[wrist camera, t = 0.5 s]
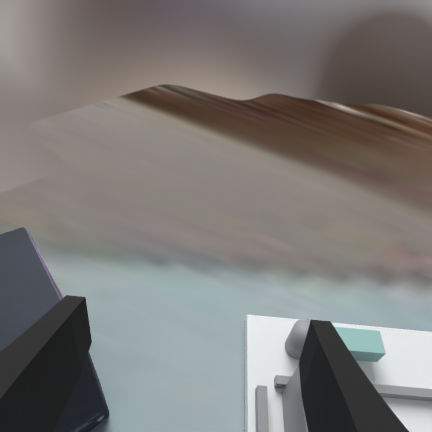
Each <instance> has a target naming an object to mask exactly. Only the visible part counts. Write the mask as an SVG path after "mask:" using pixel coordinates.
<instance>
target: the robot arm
mask: <svg viewBox="0 0 432 432" xmlns="http://www.w3.org/2000/svg"><path fill="white" fill-rule="evenodd" d="M91 342H92V341H91V334H90V327H89V320H88V313H87V306H86V299H85V297H78V296H68V295H66V296H65V297H64V298H63V299H62V300H60V301H59V302H58V303H57V304H56V305H55V306H53V307H52V308H51V309H50V310H49V311H48V312H47V313H46V314H44V315H43V316H42V317H41V318H40V319H39V320H38V321H36V322H35V323H34V324H33V325H32V326H31V327H29V328H28V329H27V330H26V331H25V332H24V333H22V334H21V335H20V336H19V337H18V338H16V339H15V340H14V341H13V342H12V343H10V344H9V345H8V346H7V347H6V348H4V349H3V350H2V351H1V352H0V432H53V431H54V429H55V427H56V425H57V423H58V420H59V418H60V416H61V414H62V412H63V410H64V408H65V406H66V404H67V402H68V400H69V398H70V395H71V393H72V391H73V389H74V387H75V385H76V383H77V381H78V379H79V376H80V374H81V372H82V369H83V366H84V363H85V361H86V358H87V355H88V352H89V348H90V345H91ZM299 372H300V385H301V395H302V401H303V406H304V412H305V417H306V422H307V427H308V432H409V431H408V430H407V428H406V427H405V426H404V425H403V423H402V422H401V421H400V420H399V419H398V417H397V416H396V415H395V414H394V412H393V411H392V410H391V408H390V407H389V406H388V405H387V403H386V402H385V401H384V399H383V398H382V397H381V395H380V394H379V393H378V391H377V390H376V389H375V387H374V386H373V384H372V383H371V382H370V380H369V379H368V377H367V376H366V375H365V373H364V372H363V370H362V369H361V367H360V366H359V364H358V363H357V362H356V360H355V359H354V357H353V356H352V354H351V352H350V351H349V349H348V348H347V346H346V345H345V343H344V342H343V340H342V339H341V337H340V335H339V334H338V332H337V331H336V329H335V327H334V326H333V324H332V323H331V322H330V321H319V320H311V321H310V325H309V328H308V332H307V335H306V339H305V343H304V346H303V350H302V353H301V357H300V361H299Z"/></svg>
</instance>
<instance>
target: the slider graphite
mask: <svg viewBox="0 0 432 432" xmlns="http://www.w3.org/2000/svg"><path fill="white" fill-rule="evenodd" d="M282 404H283V419H284V432H308V427H307V422H306V417H305V412H304V406H303V401H302V395H301V385H300V372H299V366H298V368H297V369H296V371H295V372H294V374H293V375H292V377H291V378H290V380H289V381H288V383H287V384H286V386H285V388H284V389H283V391H282Z"/></svg>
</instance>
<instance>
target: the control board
mask: <svg viewBox="0 0 432 432" xmlns="http://www.w3.org/2000/svg"><path fill="white" fill-rule="evenodd" d="M297 320H299V319H288V318H277V317H267V316H256V315H247V317H246V320H245V432H284V419H283V404H282V391H283V389H284V388H285V386H286V384H287V383H288V381H289V380H290V378H291V377H292V375H293V374H294V372H295V371H296V369H297V368H298V366H299V361H300V360H298V359H294V358H292V357H291V356H290V355H289V354H288V353H287V351H286V349H285V341H286V339H287V337H288V335H289V333H290V331H291V330H292V328H293V326H294V324H295V322H296V321H297ZM332 324H333V326H334V327H344V328H354V329H365V330H376V331H380V334H381V338H382V341H383V345H384V348H385V352H386V354H385V355H384V356H383V357H382V358H381V359H380V360H379V361H378V362H369V361H358V360H356V362H357V363H358V364H359V366H360V367H361V369H362V370H363V372H364V373H365V375H366V376H367V377H368V379H369V380H370V382H371V383H372V384H373V386H374V387H375V389H376V390H377V391H378V393H379V394H380V395H381V397H382V398H383V399H384V401H385V402H386V403H387V405H388V406H389V407H390V408H391V410H392V411H393V412H394V414H395V415H396V416H397V417H398V419H399V420H400V421H401V422H402V423H403V425H404V426H405V427H406V428H407V430H408V431H409V432H432V332H426V331H415V330H405V329H394V328H384V327H373V326H362V325H352V324H341V323H332Z"/></svg>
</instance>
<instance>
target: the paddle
mask: <svg viewBox="0 0 432 432" xmlns="http://www.w3.org/2000/svg"><path fill="white" fill-rule="evenodd" d="M310 321H311V320H309V319H299V320H297V321H296V322H295V324H294V326H293V328H292V330H291V331H290V333H289V335H288V337H287V339H286V341H285V349H286V351H287V353H288V354H289V355H290V356H291V357H292V358H294V359H298V360H300V357H301V353H302V350H303V346H304V343H305V339H306V335H307V332H308V328H309V325H310ZM335 329H336V331H337V332H338V334H339V335H340V337H341V339H342V340H343V342H344V343H345V345H346V346H347V348H348V349H349V351H350V352H351V354H352V356H353V357H354V359H355V360H358V361H369V362H378V361H379V360H380V359H381V358H382V357H383V356H384V355H385V354H386V352H385V348H384V345H383V341H382V338H381V334H380V331H376V330H365V329H354V328H344V327H335Z"/></svg>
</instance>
